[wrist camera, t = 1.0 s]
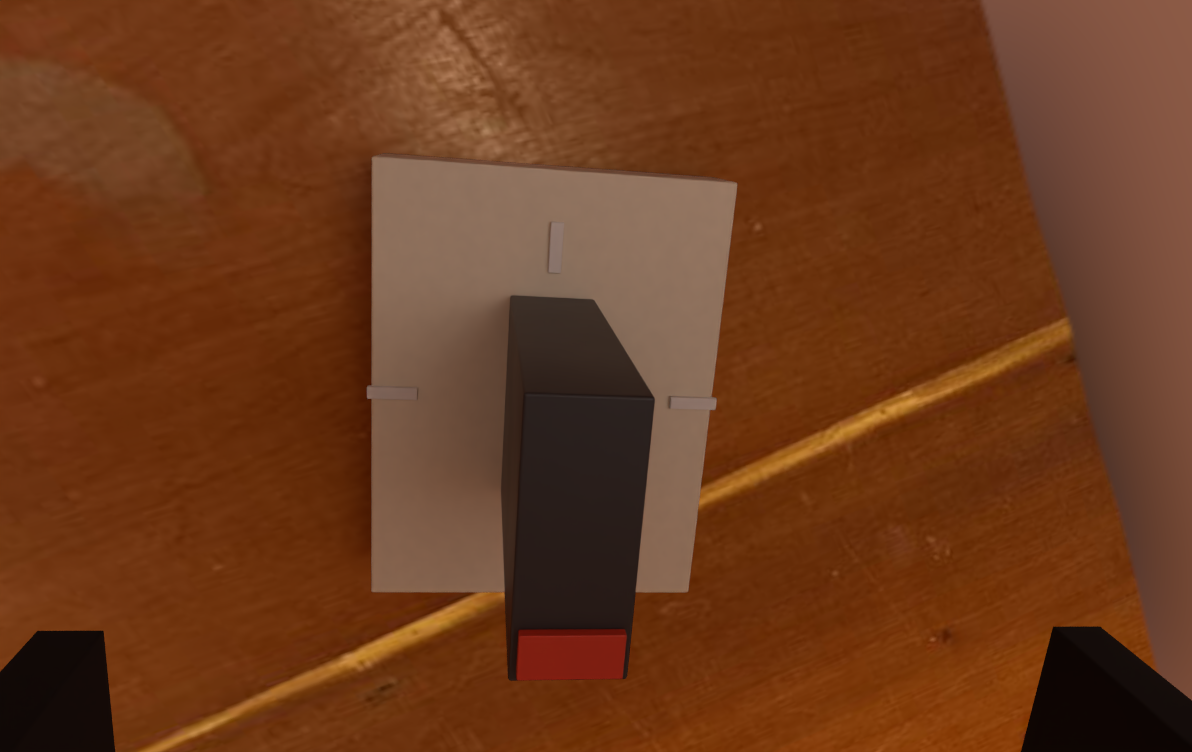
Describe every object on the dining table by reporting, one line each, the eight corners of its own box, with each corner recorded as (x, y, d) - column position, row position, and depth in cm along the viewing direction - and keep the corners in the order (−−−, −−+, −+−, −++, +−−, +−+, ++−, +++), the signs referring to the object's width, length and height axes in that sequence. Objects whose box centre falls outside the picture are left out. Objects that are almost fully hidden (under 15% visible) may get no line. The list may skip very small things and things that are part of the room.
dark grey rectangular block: (510, 294, 23) (523, 396, 14) (594, 299, 24) (658, 401, 15) (500, 491, 25) (507, 689, 16) (579, 492, 25) (629, 687, 16)
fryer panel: (379, 152, 24) (366, 155, 22) (718, 177, 26) (743, 183, 23) (378, 553, 28) (366, 595, 25) (674, 555, 29) (692, 595, 27)
